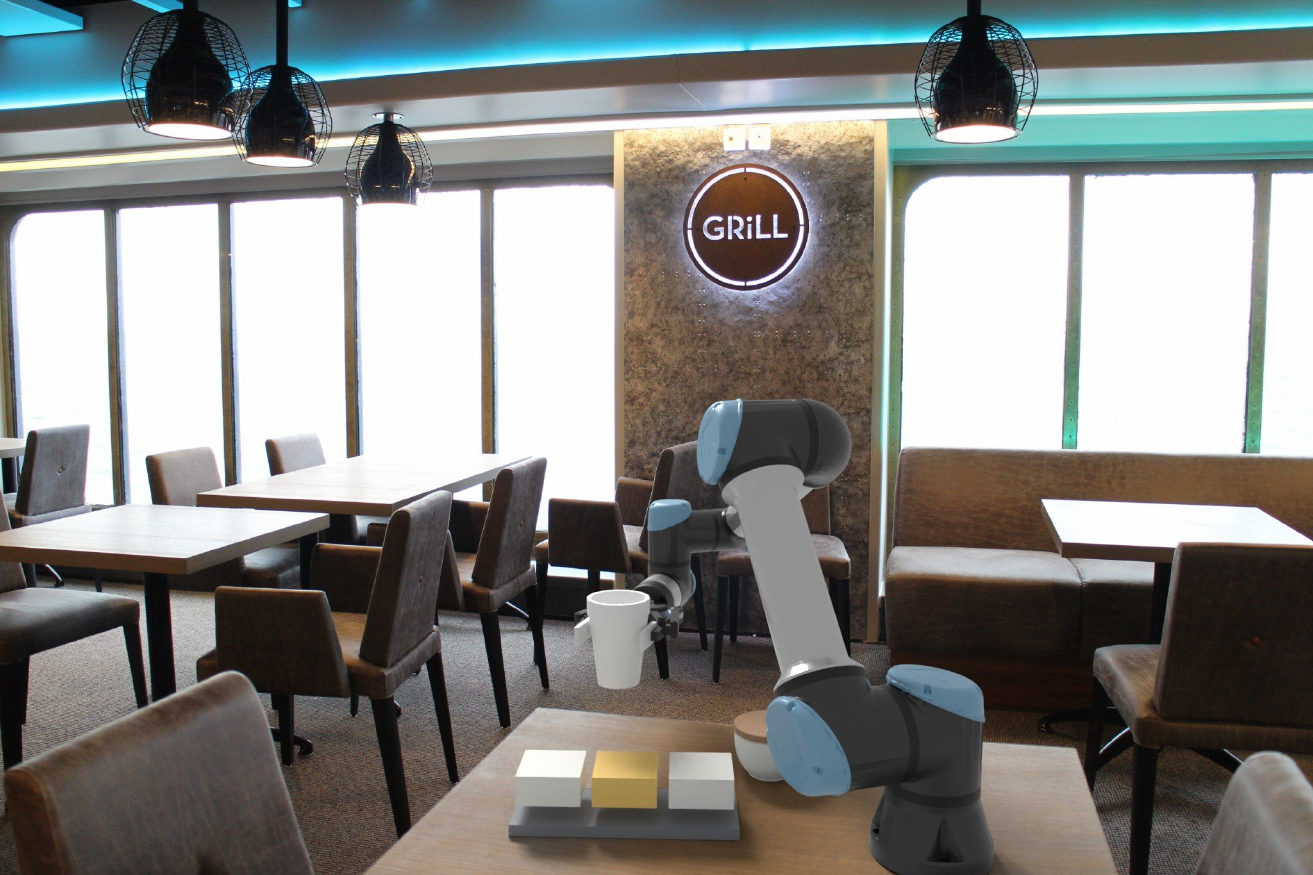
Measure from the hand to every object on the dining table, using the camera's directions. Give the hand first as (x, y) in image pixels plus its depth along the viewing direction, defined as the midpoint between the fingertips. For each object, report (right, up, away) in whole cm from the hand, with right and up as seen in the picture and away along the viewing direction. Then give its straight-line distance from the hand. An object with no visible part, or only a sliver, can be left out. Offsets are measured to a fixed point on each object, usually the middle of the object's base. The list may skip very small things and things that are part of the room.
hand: (608, 639), depth 142 cm
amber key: (+3, -19, -10) cm, 21 cm away
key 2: (+13, -19, -11) cm, 25 cm away
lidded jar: (+24, -21, +4) cm, 32 cm away
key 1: (-7, -18, -10) cm, 22 cm away
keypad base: (+3, -22, -10) cm, 24 cm away
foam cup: (+1, -8, +5) cm, 9 cm away
